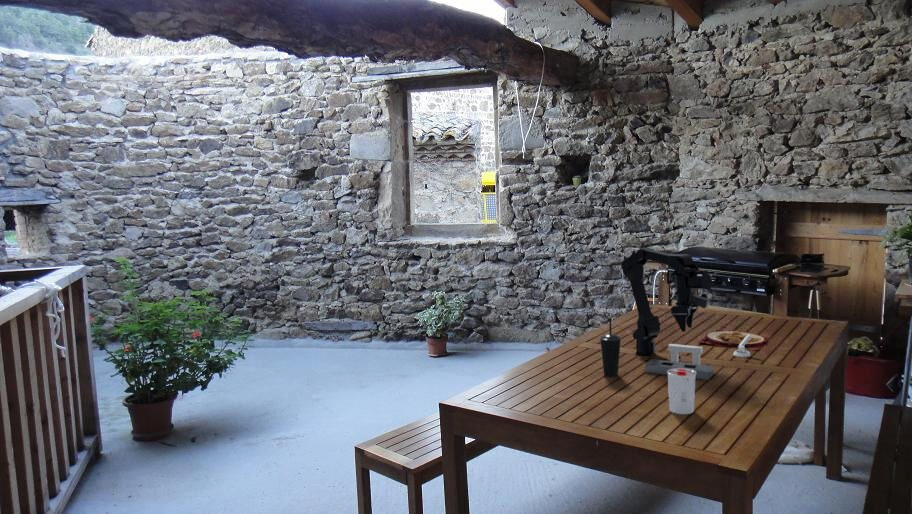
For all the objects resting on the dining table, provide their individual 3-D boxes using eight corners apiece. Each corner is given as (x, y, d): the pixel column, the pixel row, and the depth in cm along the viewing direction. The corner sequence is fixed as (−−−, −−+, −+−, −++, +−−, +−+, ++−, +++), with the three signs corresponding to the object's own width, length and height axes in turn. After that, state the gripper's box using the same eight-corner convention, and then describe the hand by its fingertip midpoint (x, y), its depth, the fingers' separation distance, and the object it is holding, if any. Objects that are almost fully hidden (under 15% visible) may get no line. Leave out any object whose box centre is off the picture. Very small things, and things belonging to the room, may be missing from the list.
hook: (764, 345, 258) (753, 338, 257) (747, 365, 260) (737, 358, 259) (755, 338, 264) (745, 331, 263) (739, 358, 266) (729, 351, 265)
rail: (645, 372, 243) (645, 364, 243) (651, 366, 250) (651, 359, 249) (708, 380, 231) (708, 371, 231) (713, 374, 238) (713, 366, 237)
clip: (668, 363, 254) (668, 345, 253) (670, 361, 256) (670, 343, 255) (700, 367, 247) (700, 348, 246) (702, 365, 250) (702, 346, 249)
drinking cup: (622, 372, 244) (622, 318, 242) (620, 378, 237) (620, 322, 235) (601, 371, 247) (600, 317, 244) (598, 376, 239) (598, 322, 237)
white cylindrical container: (661, 406, 207) (661, 368, 205) (687, 404, 207) (688, 366, 206) (674, 417, 197) (674, 377, 195) (702, 415, 197) (702, 375, 196)
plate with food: (697, 346, 282) (697, 337, 281) (717, 332, 302) (717, 324, 302) (759, 354, 267) (759, 345, 266) (775, 339, 287) (775, 331, 287)
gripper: (700, 290, 238) (703, 334, 238) (712, 285, 253) (714, 325, 254) (669, 291, 244) (671, 333, 244) (682, 285, 259) (684, 325, 260)
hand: (686, 329), depth 250 cm, fingers open, 9 cm apart
